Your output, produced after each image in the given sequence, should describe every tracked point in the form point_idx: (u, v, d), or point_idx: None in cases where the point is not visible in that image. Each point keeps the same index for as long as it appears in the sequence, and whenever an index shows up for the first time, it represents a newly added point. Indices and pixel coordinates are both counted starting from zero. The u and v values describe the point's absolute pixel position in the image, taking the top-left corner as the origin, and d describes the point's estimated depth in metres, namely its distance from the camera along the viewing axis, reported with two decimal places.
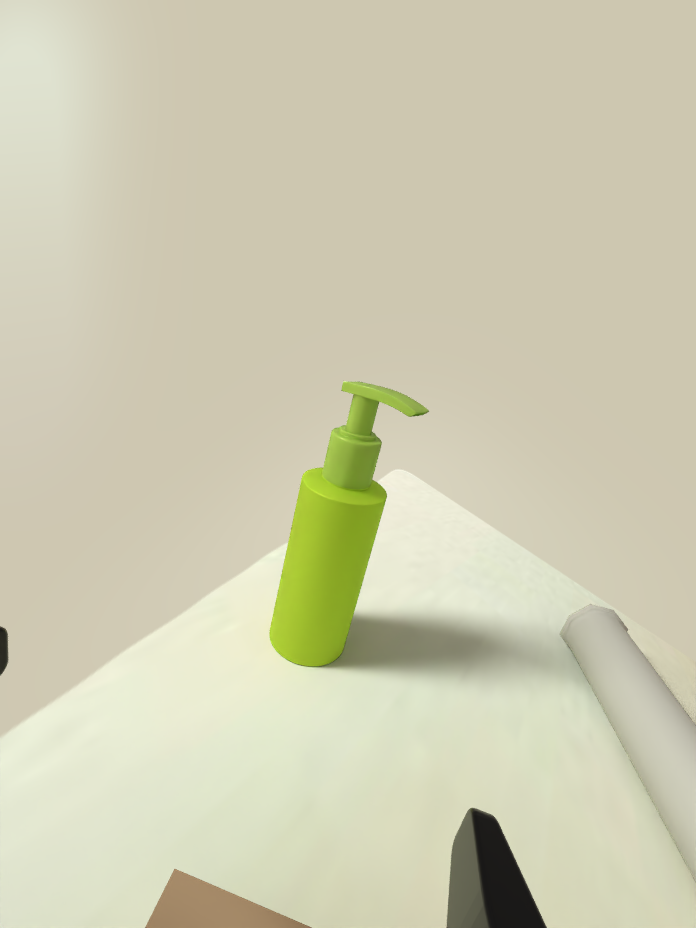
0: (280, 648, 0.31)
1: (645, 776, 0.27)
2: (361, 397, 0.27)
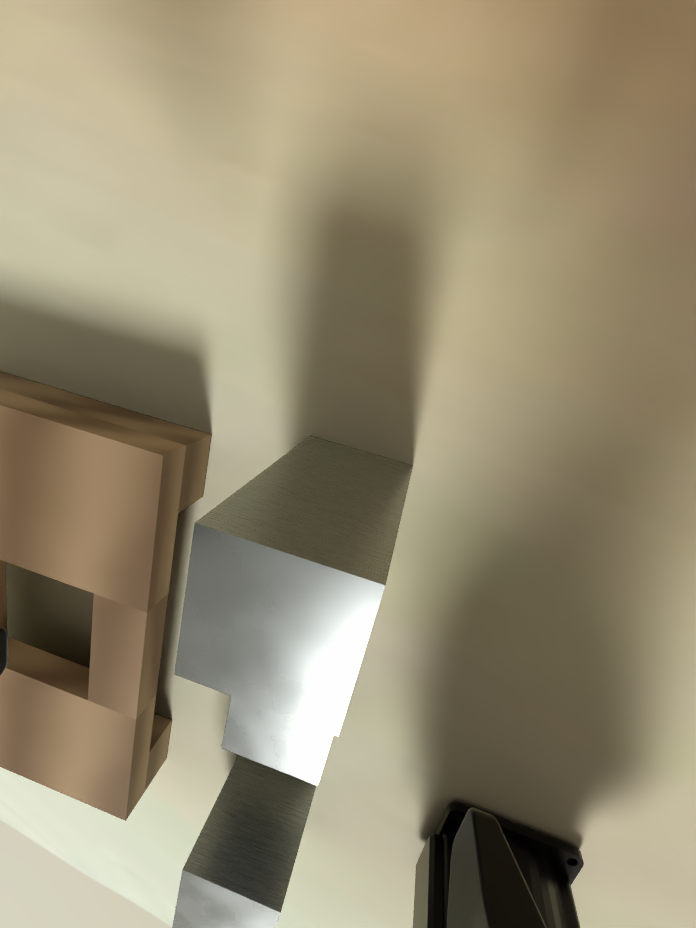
0: None
1: None
2: None
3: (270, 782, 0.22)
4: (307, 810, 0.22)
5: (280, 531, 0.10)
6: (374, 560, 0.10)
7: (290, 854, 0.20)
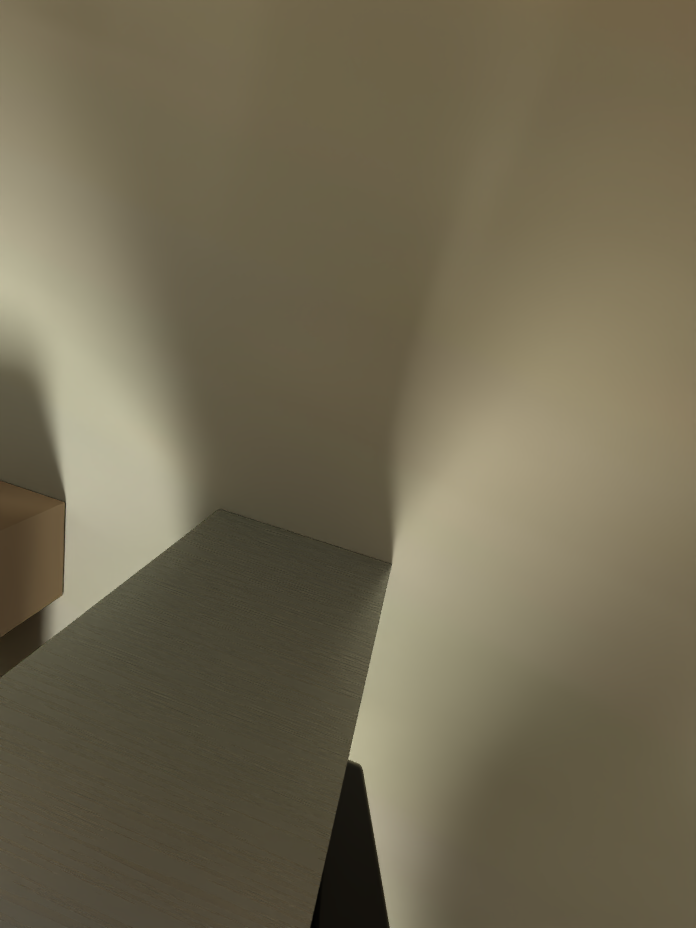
0: None
1: None
2: None
3: None
4: None
5: None
6: None
7: None
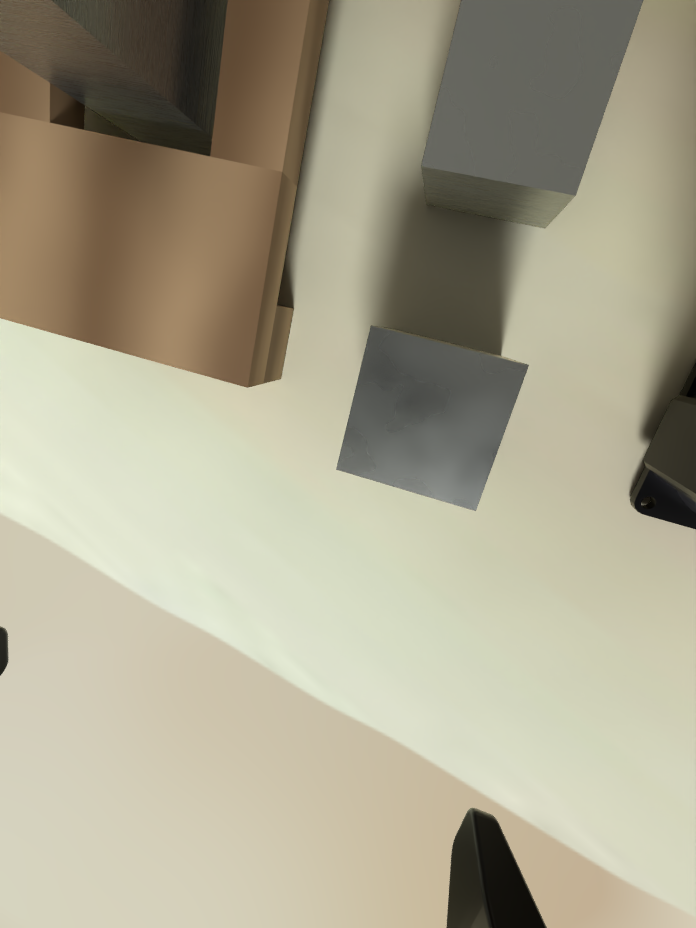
0: None
1: None
2: None
3: None
4: (505, 357, 0.15)
5: None
6: None
7: (507, 358, 0.14)
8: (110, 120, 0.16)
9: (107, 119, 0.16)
